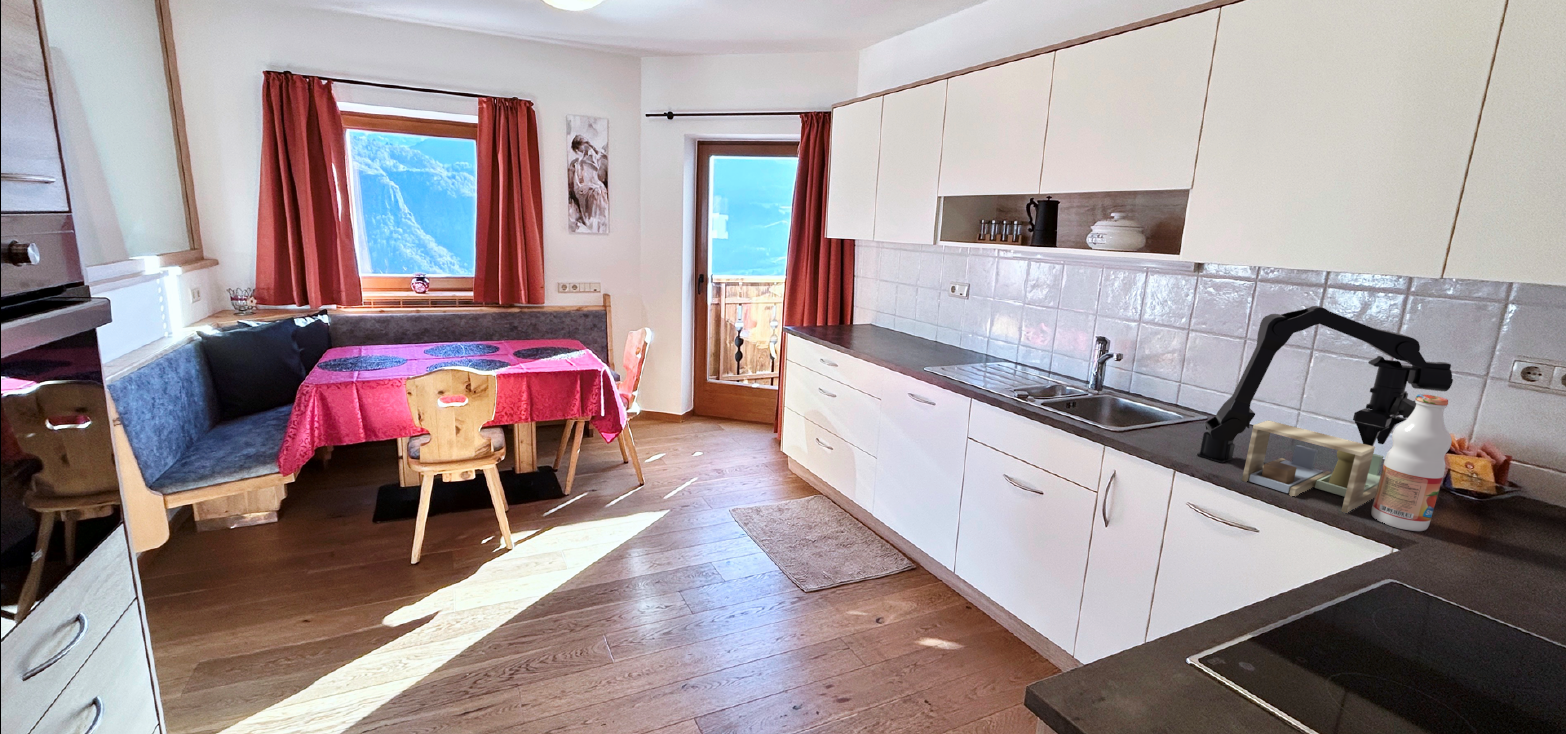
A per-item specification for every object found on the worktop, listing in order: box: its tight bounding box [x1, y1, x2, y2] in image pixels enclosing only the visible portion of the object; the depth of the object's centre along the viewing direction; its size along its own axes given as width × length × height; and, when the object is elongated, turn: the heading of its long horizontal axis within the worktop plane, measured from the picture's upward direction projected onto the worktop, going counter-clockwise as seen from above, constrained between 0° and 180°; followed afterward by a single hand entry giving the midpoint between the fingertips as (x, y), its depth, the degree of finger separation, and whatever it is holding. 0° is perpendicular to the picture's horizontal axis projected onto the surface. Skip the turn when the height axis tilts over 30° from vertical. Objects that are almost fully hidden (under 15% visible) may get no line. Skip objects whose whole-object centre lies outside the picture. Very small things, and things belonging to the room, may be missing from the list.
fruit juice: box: [1371, 393, 1453, 532], centre depth 144 cm, size 9×9×28 cm
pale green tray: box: [1314, 453, 1384, 498], centre depth 165 cm, size 8×20×7 cm, turn 124°
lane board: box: [1241, 420, 1378, 514], centre depth 163 cm, size 21×22×14 cm
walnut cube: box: [1262, 460, 1297, 485], centre depth 165 cm, size 5×5×5 cm
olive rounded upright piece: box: [1328, 450, 1355, 488], centre depth 161 cm, size 6×6×11 cm
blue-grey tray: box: [1248, 444, 1324, 494], centre depth 167 cm, size 8×20×7 cm, turn 124°
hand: (1374, 446), depth 169 cm, fingers open, 9 cm apart
